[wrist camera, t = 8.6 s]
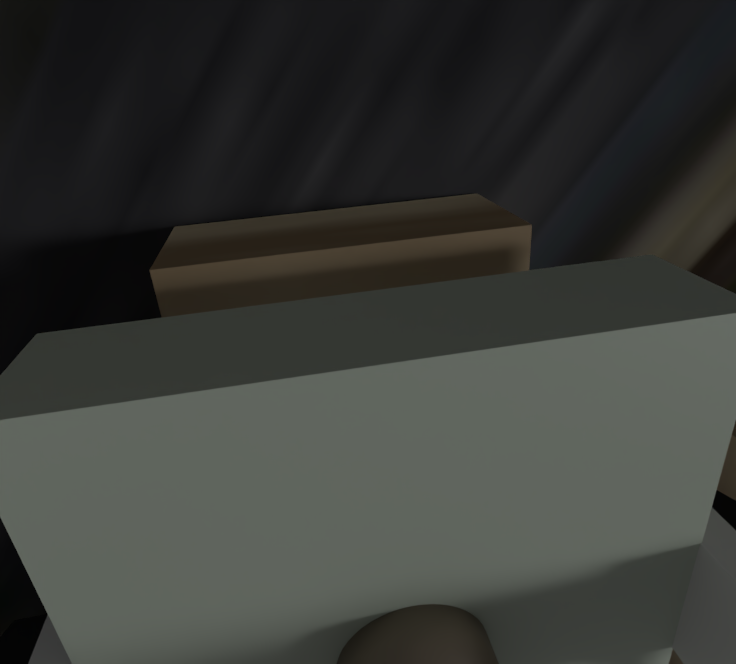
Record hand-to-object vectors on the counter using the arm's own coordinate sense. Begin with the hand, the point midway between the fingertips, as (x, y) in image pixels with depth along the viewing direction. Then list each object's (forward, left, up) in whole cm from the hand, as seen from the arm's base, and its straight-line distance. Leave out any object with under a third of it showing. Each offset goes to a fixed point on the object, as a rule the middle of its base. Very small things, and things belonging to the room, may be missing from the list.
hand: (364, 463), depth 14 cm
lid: (0, 0, +3) cm, 3 cm away
